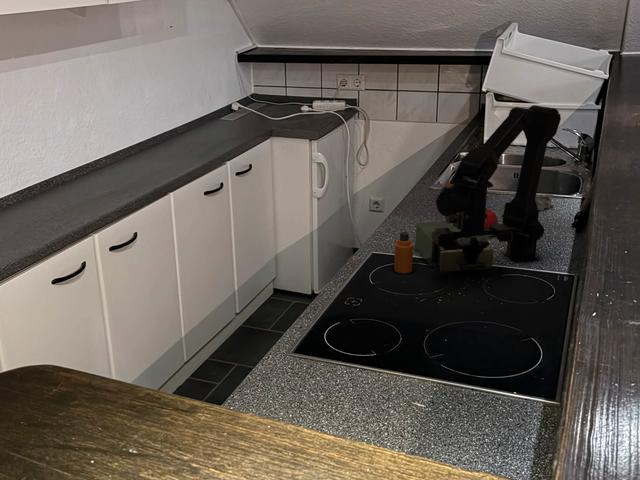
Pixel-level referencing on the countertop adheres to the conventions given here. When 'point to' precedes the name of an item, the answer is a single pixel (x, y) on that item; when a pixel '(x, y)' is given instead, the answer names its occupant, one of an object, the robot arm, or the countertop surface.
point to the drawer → (461, 258)
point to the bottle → (403, 254)
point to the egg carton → (543, 201)
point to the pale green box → (429, 239)
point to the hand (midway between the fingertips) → (469, 267)
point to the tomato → (490, 219)
